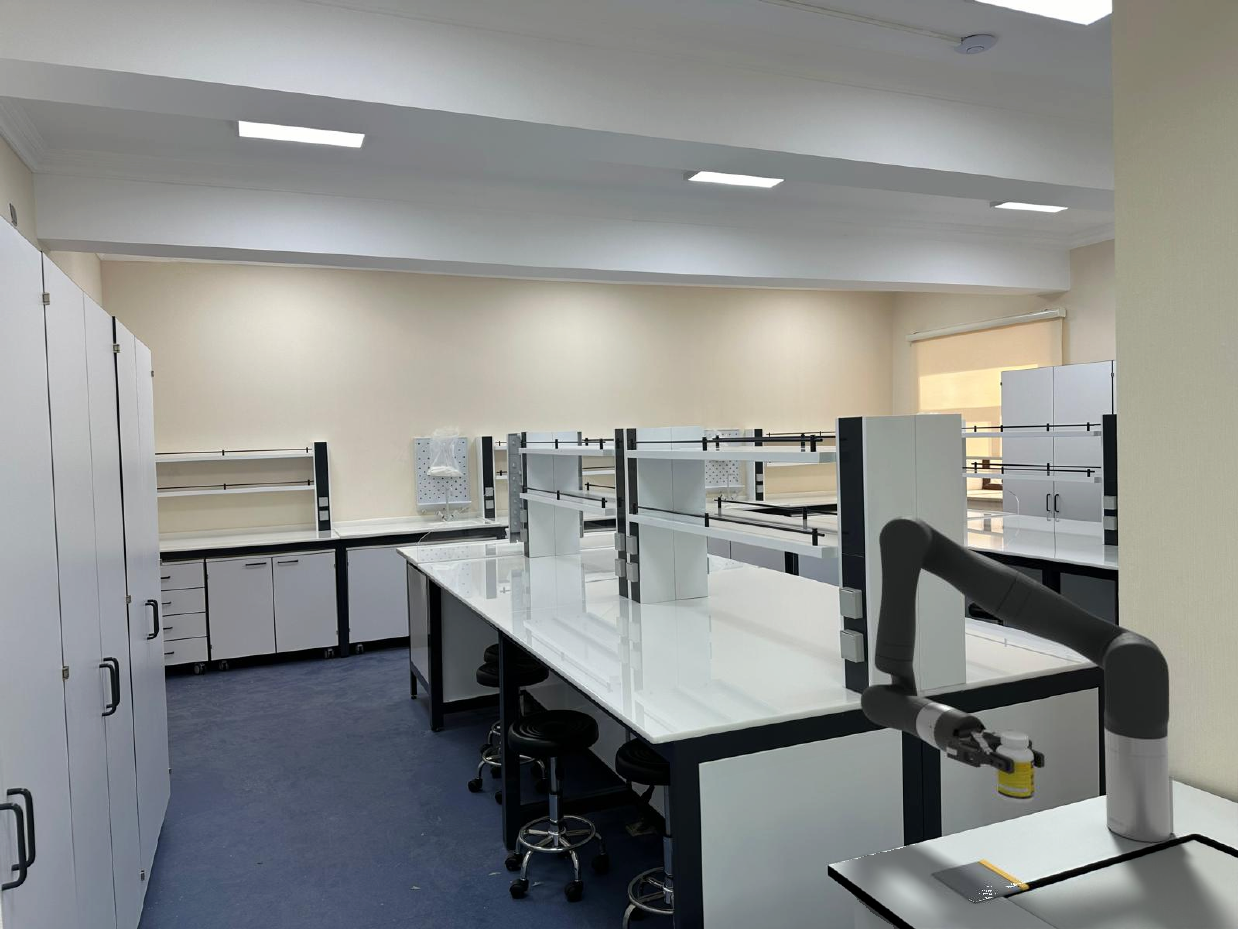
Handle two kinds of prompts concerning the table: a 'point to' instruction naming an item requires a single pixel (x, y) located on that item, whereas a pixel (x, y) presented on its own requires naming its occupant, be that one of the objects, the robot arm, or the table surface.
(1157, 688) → the robot arm
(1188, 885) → the table surface
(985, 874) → the mat
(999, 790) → the supplement bottle
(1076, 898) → the table surface
